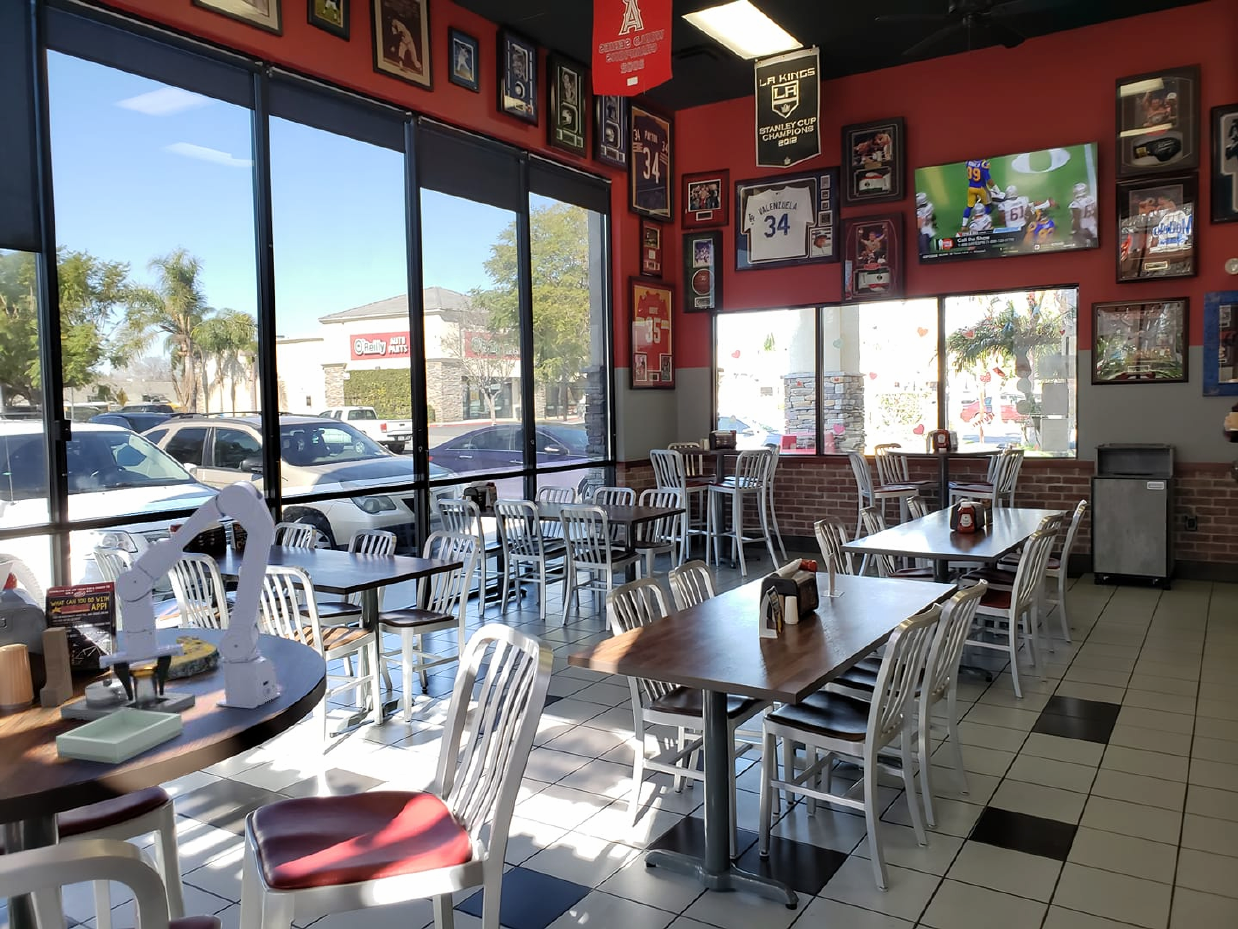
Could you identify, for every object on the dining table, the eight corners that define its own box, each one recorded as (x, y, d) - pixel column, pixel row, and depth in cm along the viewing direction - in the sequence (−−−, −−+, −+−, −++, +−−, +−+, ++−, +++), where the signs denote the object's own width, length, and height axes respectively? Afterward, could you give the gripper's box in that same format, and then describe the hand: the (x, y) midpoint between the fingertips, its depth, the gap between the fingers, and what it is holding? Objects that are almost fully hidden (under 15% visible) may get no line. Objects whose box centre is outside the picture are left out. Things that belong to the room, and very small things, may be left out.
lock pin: (168, 709, 182) (163, 665, 181) (147, 718, 177) (142, 673, 176) (149, 707, 183) (144, 663, 183) (127, 716, 179) (123, 671, 178)
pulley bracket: (195, 704, 184) (192, 675, 183) (146, 726, 173) (142, 695, 172) (113, 696, 191) (110, 668, 191) (61, 717, 180) (58, 687, 180)
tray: (182, 732, 168) (181, 714, 168) (117, 764, 155) (115, 744, 155) (125, 726, 173) (123, 708, 173) (57, 756, 160) (55, 737, 160)
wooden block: (57, 697, 193) (49, 627, 192) (73, 696, 193) (66, 626, 192) (41, 708, 187) (33, 636, 185) (58, 706, 187) (50, 634, 186)
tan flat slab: (224, 619, 228) (211, 651, 200) (230, 641, 229) (218, 676, 200) (163, 635, 224) (141, 670, 195) (169, 658, 225) (149, 696, 196)
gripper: (181, 619, 185) (187, 684, 187) (99, 630, 179) (106, 698, 181) (180, 626, 179) (187, 694, 180) (95, 638, 173) (103, 708, 174)
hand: (146, 697), depth 180 cm, fingers closed on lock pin, 5 cm apart
